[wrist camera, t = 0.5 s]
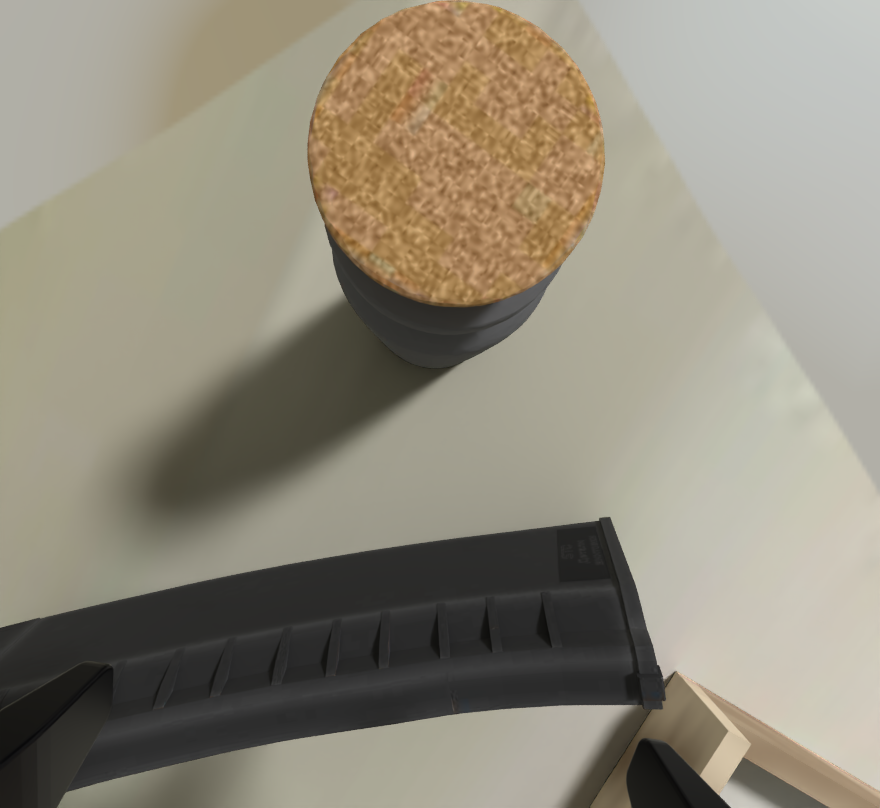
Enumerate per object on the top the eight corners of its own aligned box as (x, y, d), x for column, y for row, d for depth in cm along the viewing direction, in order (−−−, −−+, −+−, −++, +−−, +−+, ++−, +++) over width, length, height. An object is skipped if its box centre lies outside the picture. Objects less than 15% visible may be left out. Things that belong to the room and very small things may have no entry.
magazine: (790, 575, 14) (-1323, 1466, 4) (803, 675, 14) (-1210, 1747, 5) (519, 483, 30) (-58, 630, 21) (526, 530, 30) (-43, 698, 21)
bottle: (421, 392, 22) (419, 415, 7) (349, 295, 22) (189, 104, 7) (517, 322, 22) (715, 198, 7) (447, 223, 22) (501, -124, 7)
